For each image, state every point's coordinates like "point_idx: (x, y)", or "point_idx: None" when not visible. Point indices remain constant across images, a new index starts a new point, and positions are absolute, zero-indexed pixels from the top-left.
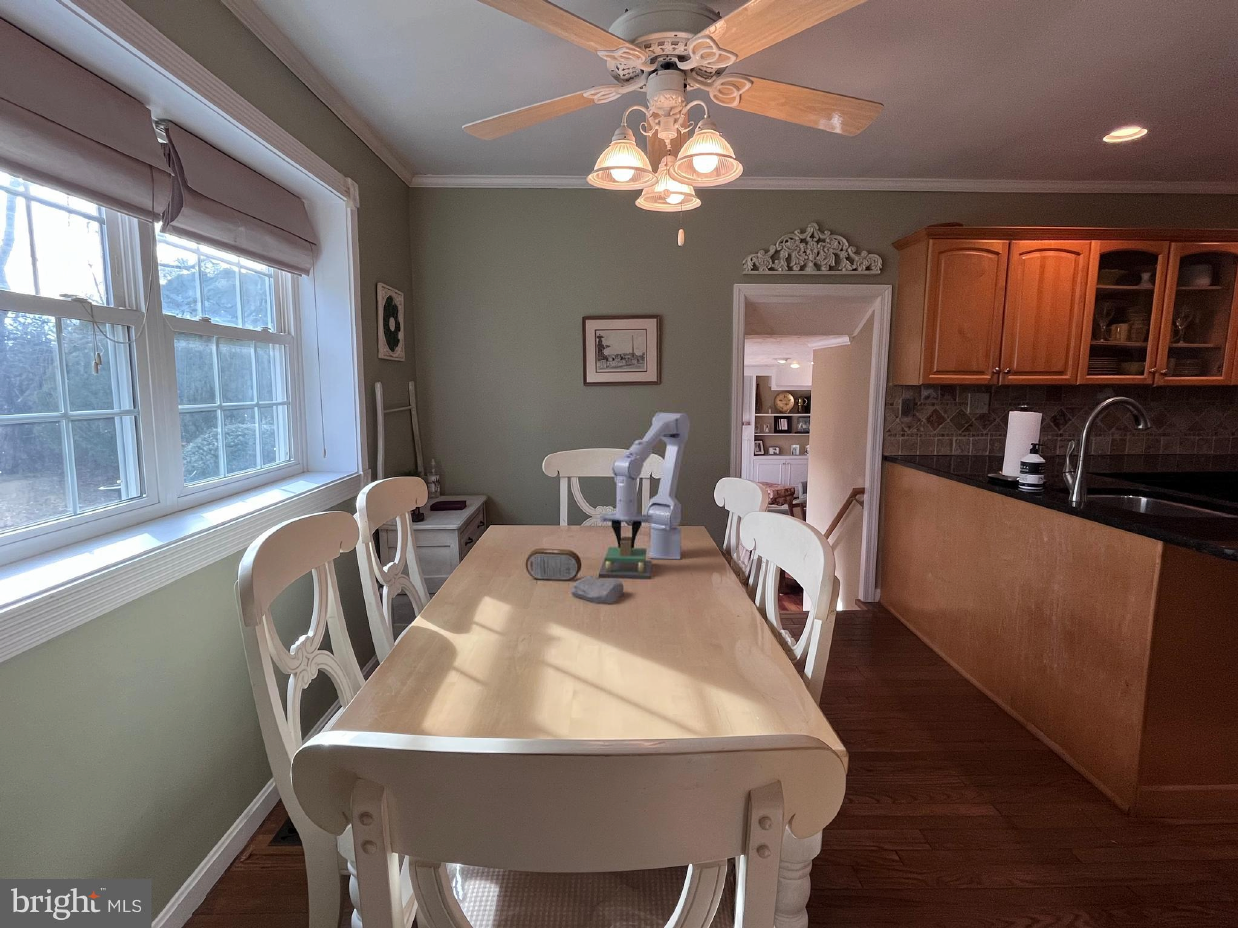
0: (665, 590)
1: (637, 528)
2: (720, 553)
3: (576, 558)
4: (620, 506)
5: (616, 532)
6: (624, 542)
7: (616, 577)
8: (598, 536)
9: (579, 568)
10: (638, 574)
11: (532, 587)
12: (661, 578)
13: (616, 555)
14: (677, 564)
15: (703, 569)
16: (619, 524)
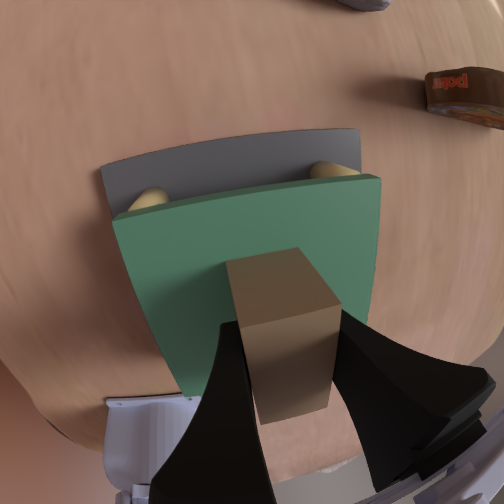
0: (31, 59)
1: (179, 474)
2: (60, 429)
3: (482, 73)
4: None
5: (413, 362)
6: (302, 309)
7: (272, 132)
8: (350, 438)
9: (440, 71)
10: (159, 164)
11: (475, 43)
12: (64, 196)
13: (321, 244)
14: (88, 364)
15: (10, 333)
16: (422, 446)
